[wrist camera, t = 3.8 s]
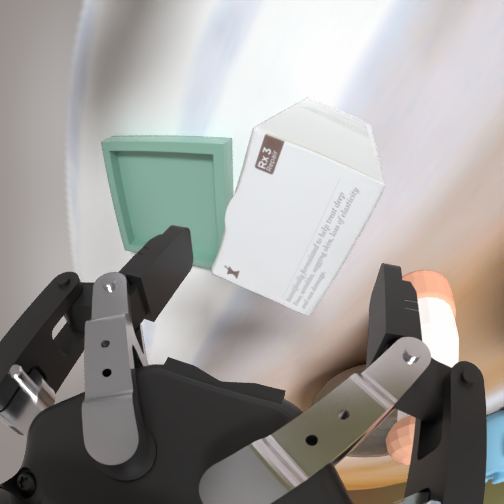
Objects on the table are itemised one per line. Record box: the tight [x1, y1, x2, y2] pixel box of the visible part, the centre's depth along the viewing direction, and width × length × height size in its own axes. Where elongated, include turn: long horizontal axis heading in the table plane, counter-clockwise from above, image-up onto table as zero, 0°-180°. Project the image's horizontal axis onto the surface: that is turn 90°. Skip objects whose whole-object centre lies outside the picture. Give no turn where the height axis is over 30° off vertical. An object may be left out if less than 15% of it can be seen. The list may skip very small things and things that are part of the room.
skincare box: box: [212, 98, 385, 316], centre depth 19 cm, size 8×6×15 cm
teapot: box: [485, 410, 504, 484], centre depth 35 cm, size 19×19×14 cm
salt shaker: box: [386, 270, 459, 466], centre depth 23 cm, size 7×7×19 cm
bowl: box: [311, 364, 398, 457], centre depth 37 cm, size 17×18×10 cm
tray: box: [101, 136, 233, 269], centre depth 32 cm, size 14×14×2 cm
